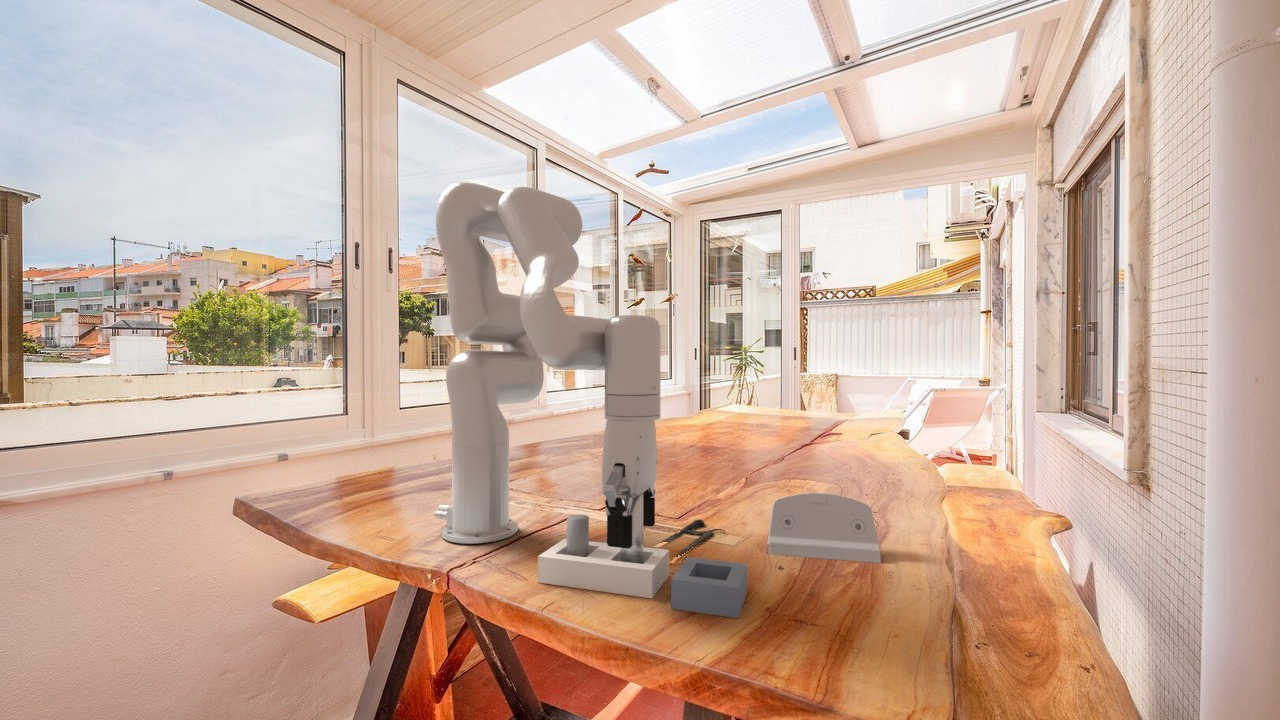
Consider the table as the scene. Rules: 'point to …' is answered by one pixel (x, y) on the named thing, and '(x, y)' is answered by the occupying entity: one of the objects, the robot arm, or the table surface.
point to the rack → (600, 564)
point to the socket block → (709, 587)
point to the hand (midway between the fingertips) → (632, 535)
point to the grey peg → (635, 533)
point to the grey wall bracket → (823, 528)
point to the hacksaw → (690, 531)
